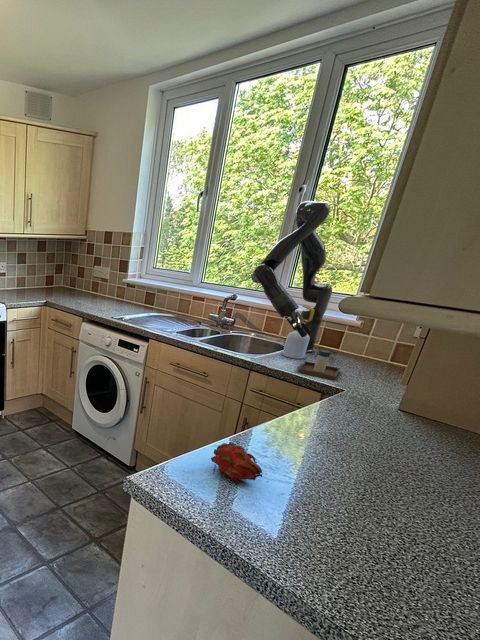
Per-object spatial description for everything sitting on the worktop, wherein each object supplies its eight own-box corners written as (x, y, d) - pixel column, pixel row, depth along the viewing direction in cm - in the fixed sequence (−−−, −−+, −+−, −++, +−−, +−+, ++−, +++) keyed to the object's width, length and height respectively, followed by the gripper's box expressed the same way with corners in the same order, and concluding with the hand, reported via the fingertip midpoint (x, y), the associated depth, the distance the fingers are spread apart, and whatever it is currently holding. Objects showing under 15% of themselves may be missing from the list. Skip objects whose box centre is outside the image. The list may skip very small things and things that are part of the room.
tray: (303, 364, 185) (305, 361, 184) (338, 371, 177) (340, 368, 176) (297, 372, 174) (298, 368, 173) (334, 380, 166) (335, 376, 165)
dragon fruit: (208, 466, 104) (251, 497, 95) (197, 458, 98) (243, 490, 89) (228, 440, 103) (274, 469, 95) (219, 430, 97) (267, 460, 89)
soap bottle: (286, 352, 203) (300, 303, 194) (306, 357, 196) (322, 306, 187) (279, 355, 197) (293, 304, 188) (299, 360, 191) (315, 308, 182)
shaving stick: (313, 368, 178) (319, 349, 175) (325, 371, 175) (331, 351, 172) (312, 370, 175) (318, 350, 172) (323, 373, 172) (330, 353, 169)
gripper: (289, 300, 170) (313, 332, 167) (295, 297, 180) (318, 327, 177) (271, 311, 175) (294, 342, 172) (279, 307, 185) (300, 336, 183)
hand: (306, 334), depth 175 cm, fingers open, 8 cm apart
